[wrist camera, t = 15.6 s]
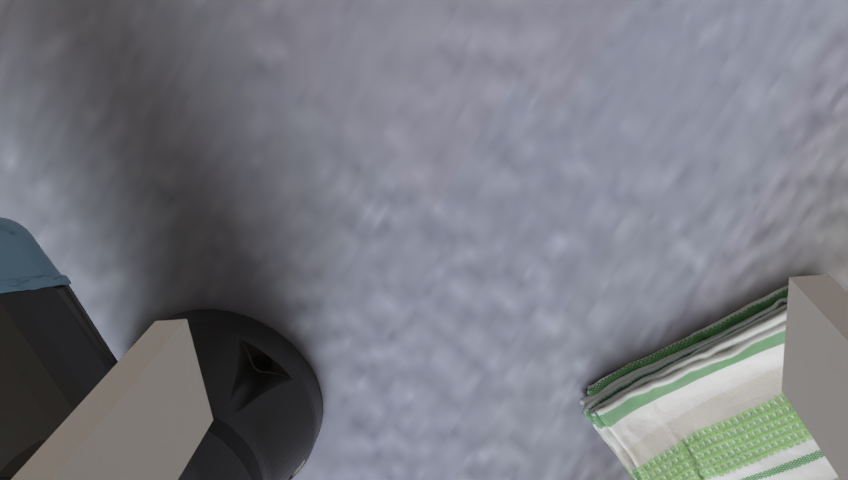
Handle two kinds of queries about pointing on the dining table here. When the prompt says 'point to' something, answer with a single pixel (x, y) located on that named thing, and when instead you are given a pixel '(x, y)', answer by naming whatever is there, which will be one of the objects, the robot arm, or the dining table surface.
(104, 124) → the dining table surface
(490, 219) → the dining table surface
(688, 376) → the dish towel
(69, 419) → the robot arm
